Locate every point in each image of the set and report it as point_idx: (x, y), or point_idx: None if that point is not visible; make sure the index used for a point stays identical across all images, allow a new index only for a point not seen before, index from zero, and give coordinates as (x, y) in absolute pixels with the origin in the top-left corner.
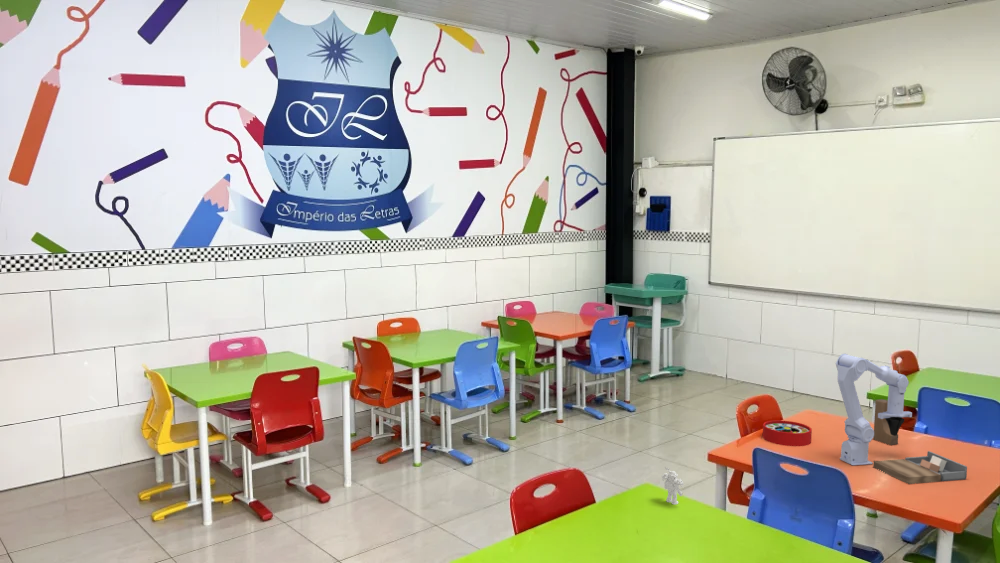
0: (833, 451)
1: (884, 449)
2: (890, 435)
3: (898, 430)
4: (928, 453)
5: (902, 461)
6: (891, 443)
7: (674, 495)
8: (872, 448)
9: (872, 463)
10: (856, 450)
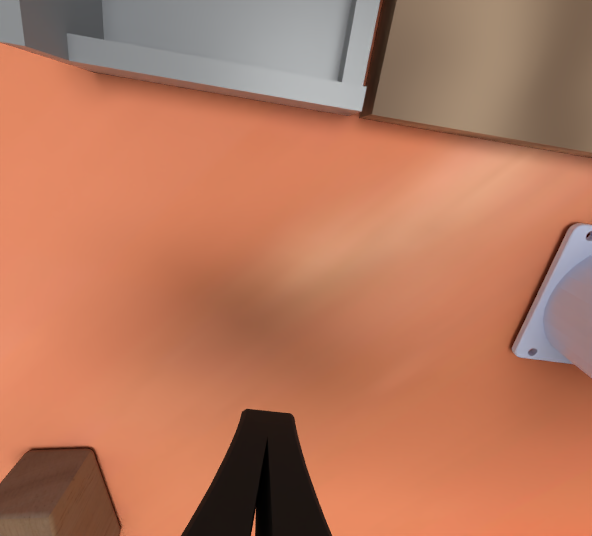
0: (525, 464)
1: (193, 411)
2: (51, 521)
3: (223, 476)
4: (40, 31)
5: (468, 53)
6: (81, 458)
7: None
8: None
9: (581, 223)
10: None
